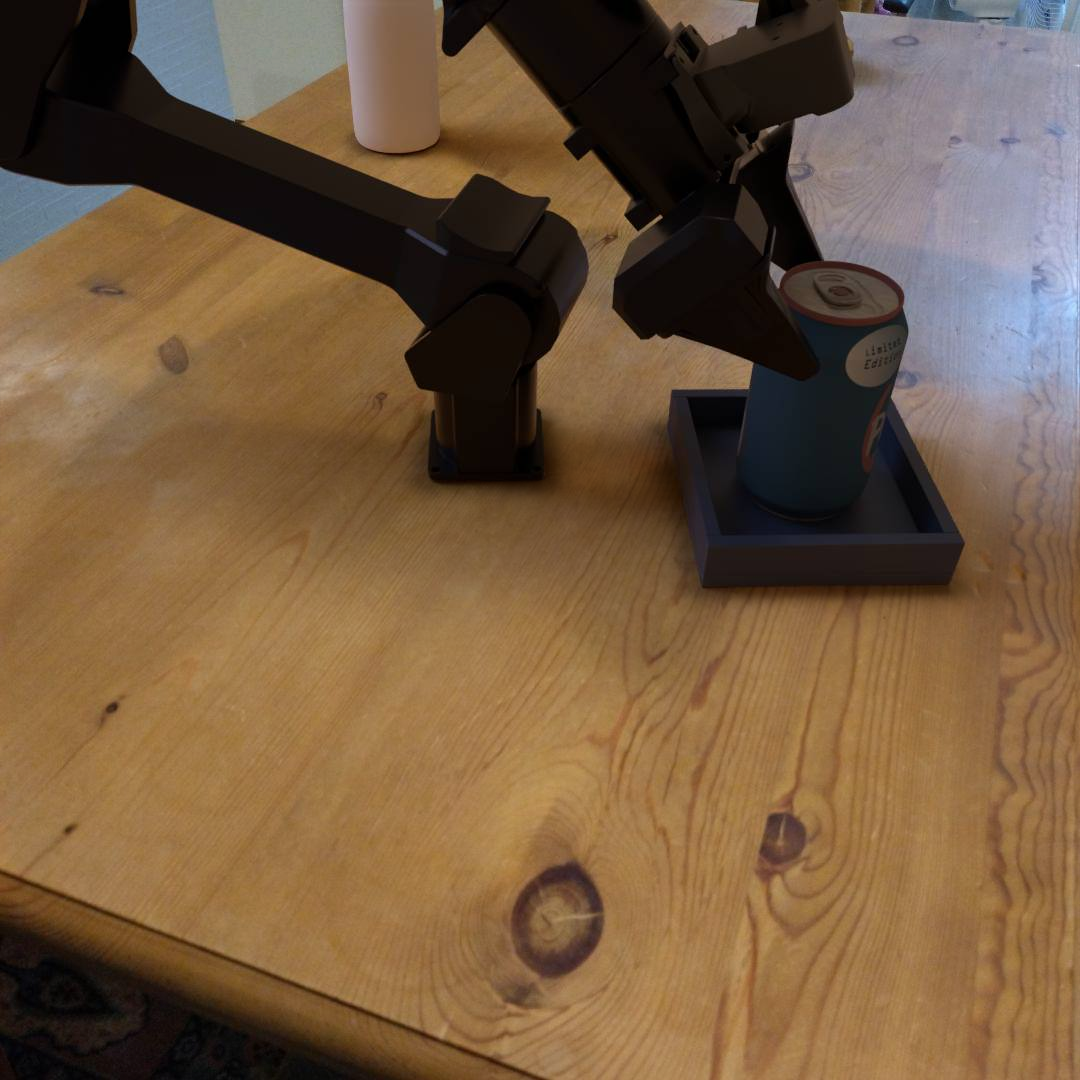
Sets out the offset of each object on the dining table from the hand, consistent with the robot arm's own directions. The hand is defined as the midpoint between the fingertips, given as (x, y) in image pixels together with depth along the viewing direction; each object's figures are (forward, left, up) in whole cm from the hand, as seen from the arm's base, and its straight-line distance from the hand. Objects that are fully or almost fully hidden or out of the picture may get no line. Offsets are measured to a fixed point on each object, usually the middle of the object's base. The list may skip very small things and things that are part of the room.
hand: (817, 324), depth 51 cm
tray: (0, -1, -11) cm, 11 cm away
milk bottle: (+52, +24, -11) cm, 58 cm away
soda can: (0, -1, -10) cm, 10 cm away
